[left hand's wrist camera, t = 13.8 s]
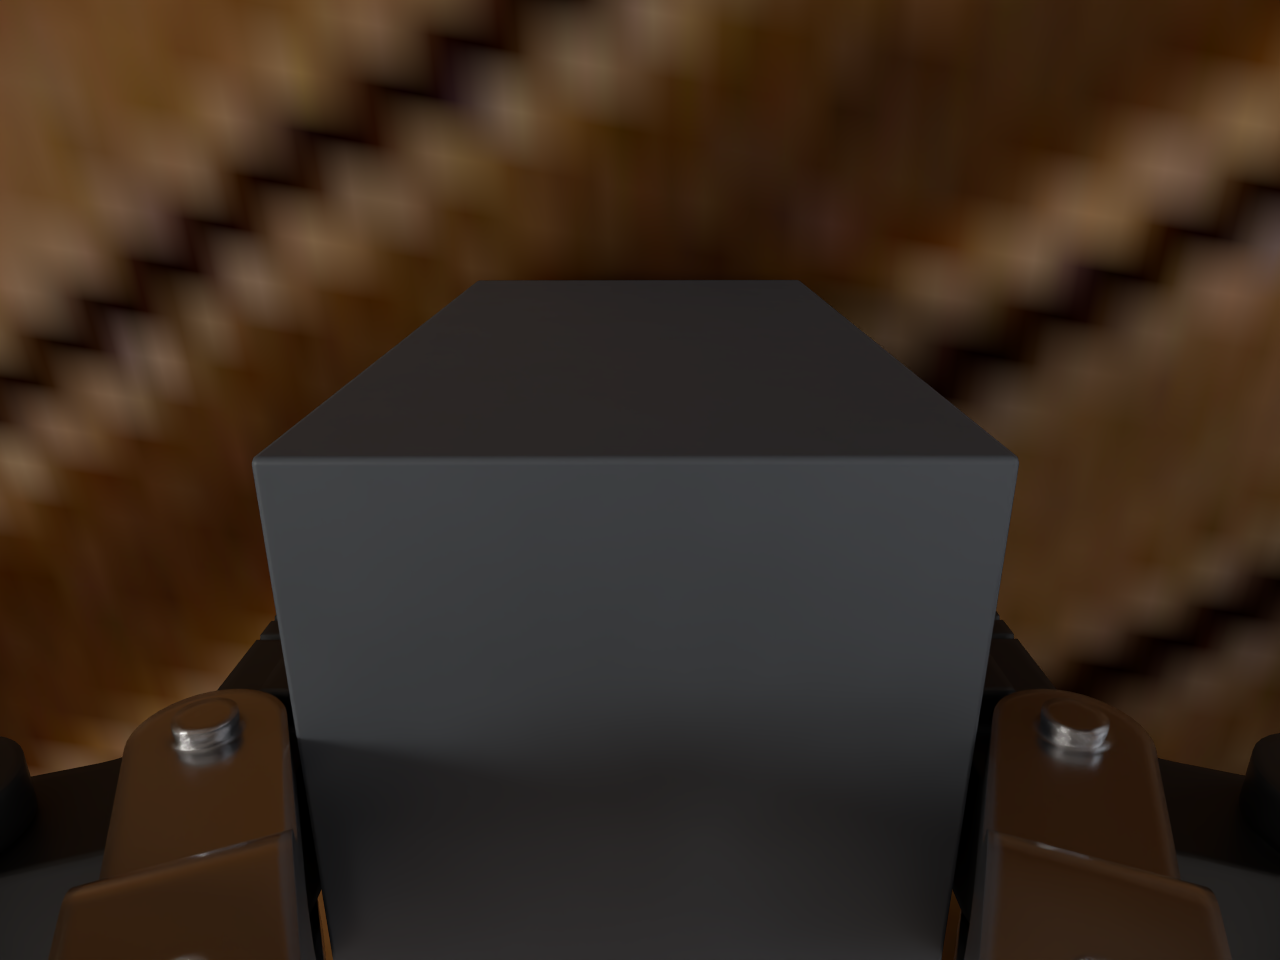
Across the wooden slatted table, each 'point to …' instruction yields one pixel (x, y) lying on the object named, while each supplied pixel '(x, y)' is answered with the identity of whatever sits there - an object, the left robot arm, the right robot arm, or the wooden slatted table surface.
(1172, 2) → the wooden slatted table surface
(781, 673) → the bar
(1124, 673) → the wooden slatted table surface
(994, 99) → the wooden slatted table surface
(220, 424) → the wooden slatted table surface
